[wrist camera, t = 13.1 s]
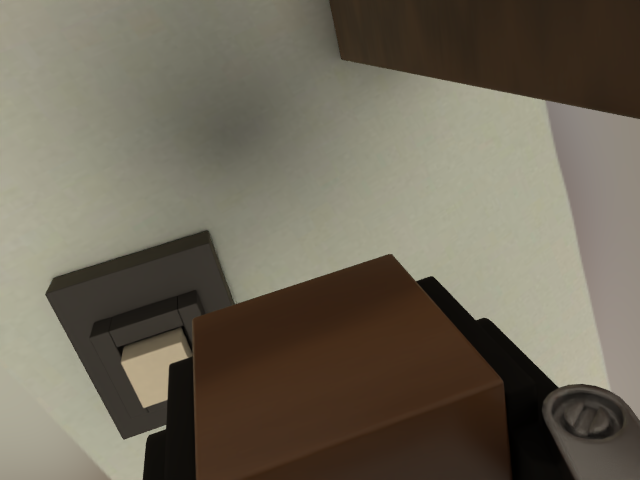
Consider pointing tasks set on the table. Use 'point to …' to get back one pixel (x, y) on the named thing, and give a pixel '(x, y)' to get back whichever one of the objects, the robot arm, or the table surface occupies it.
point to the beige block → (154, 364)
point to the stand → (505, 45)
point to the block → (345, 386)
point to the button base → (136, 315)
